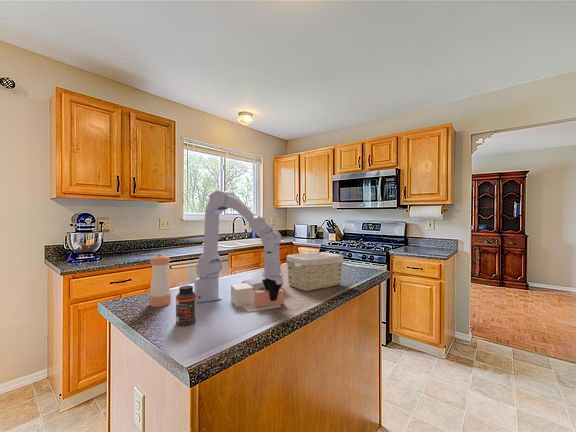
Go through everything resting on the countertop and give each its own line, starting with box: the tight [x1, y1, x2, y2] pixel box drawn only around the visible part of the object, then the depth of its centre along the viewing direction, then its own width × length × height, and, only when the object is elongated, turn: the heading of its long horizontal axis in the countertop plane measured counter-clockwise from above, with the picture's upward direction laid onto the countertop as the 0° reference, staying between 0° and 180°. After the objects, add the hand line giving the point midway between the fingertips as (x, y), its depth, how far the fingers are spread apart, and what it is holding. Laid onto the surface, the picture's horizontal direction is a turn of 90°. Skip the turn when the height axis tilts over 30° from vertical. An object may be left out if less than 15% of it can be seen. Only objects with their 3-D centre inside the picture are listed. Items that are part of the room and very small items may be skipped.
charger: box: [240, 277, 266, 292], centre depth 124 cm, size 5×9×15 cm
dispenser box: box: [230, 282, 254, 308], centre depth 106 cm, size 7×8×6 cm
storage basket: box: [286, 251, 344, 292], centre depth 131 cm, size 24×16×15 cm
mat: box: [241, 304, 282, 313], centre depth 101 cm, size 13×6×1 cm, turn 116°
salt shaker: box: [149, 253, 172, 308], centre depth 105 cm, size 7×7×19 cm
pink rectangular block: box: [254, 288, 286, 307], centre depth 102 cm, size 11×2×5 cm, turn 116°
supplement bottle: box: [175, 284, 197, 327], centre depth 86 cm, size 6×6×11 cm
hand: (272, 299), depth 102 cm, fingers closed on pink rectangular block, 2 cm apart
